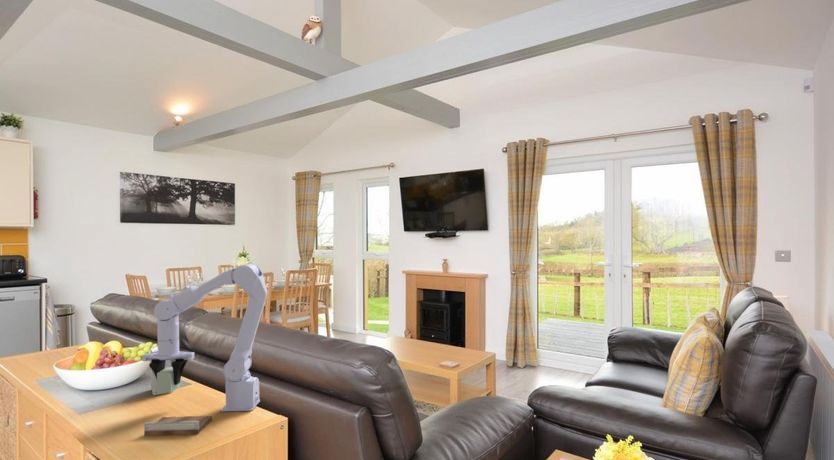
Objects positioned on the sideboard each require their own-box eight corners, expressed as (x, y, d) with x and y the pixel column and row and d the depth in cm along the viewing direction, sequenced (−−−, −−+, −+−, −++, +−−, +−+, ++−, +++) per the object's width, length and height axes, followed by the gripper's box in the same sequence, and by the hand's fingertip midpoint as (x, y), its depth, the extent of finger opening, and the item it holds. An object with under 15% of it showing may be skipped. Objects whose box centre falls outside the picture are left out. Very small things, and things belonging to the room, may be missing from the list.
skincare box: (172, 392, 150) (171, 348, 150) (151, 396, 147) (151, 351, 147) (170, 385, 157) (169, 343, 157) (150, 389, 154) (149, 346, 154)
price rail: (199, 428, 119) (199, 420, 119) (197, 429, 118) (197, 422, 118) (146, 429, 119) (146, 422, 119) (144, 431, 118) (144, 423, 118)
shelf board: (212, 419, 127) (212, 415, 127) (197, 434, 118) (197, 429, 118) (162, 421, 127) (162, 417, 127) (144, 435, 118) (144, 431, 118)
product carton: (181, 386, 137) (180, 366, 137) (170, 393, 131) (170, 372, 131) (167, 386, 137) (167, 367, 137) (156, 393, 131) (156, 373, 131)
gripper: (136, 342, 130) (136, 389, 130) (186, 341, 131) (186, 387, 131) (149, 337, 137) (150, 381, 137) (197, 336, 138) (197, 379, 138)
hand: (169, 383), depth 134 cm, fingers closed on product carton, 4 cm apart
